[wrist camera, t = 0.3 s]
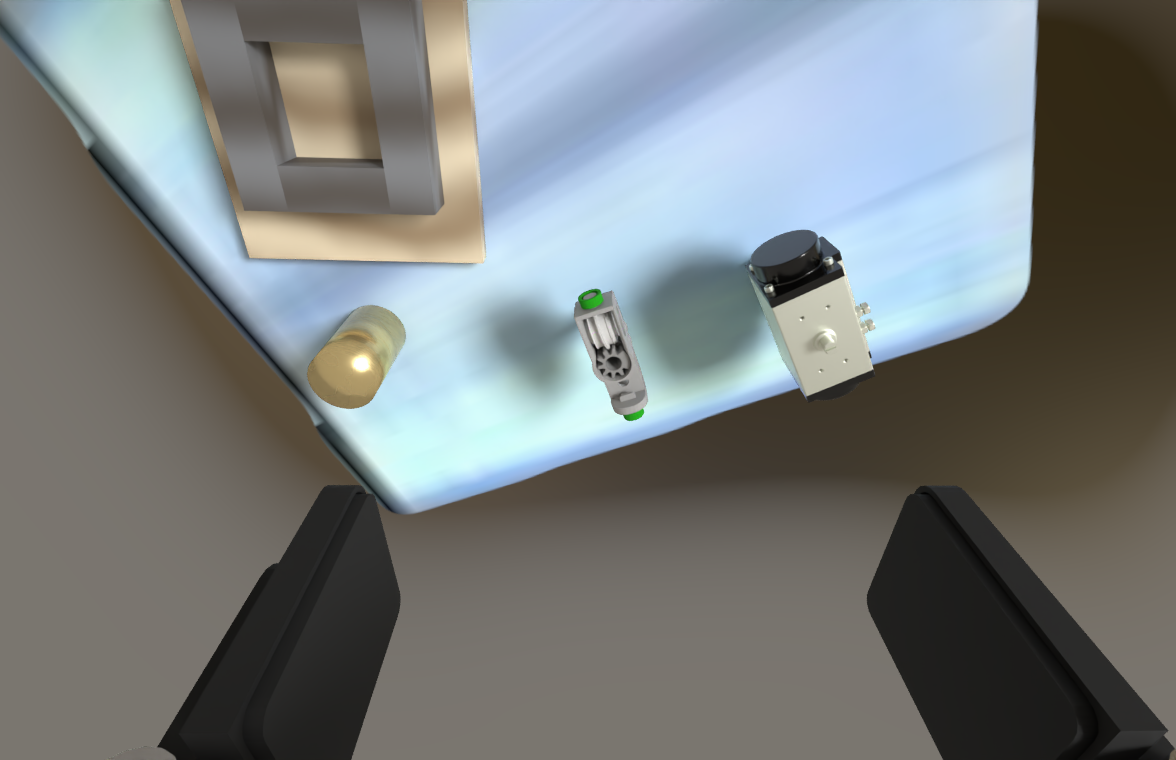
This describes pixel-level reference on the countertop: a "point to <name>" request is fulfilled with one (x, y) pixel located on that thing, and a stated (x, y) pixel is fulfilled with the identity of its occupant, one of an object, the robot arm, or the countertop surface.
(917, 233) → the countertop surface
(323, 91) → the jig plate
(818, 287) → the pneumatic valve
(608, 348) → the mechanical component
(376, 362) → the tan cylinder
